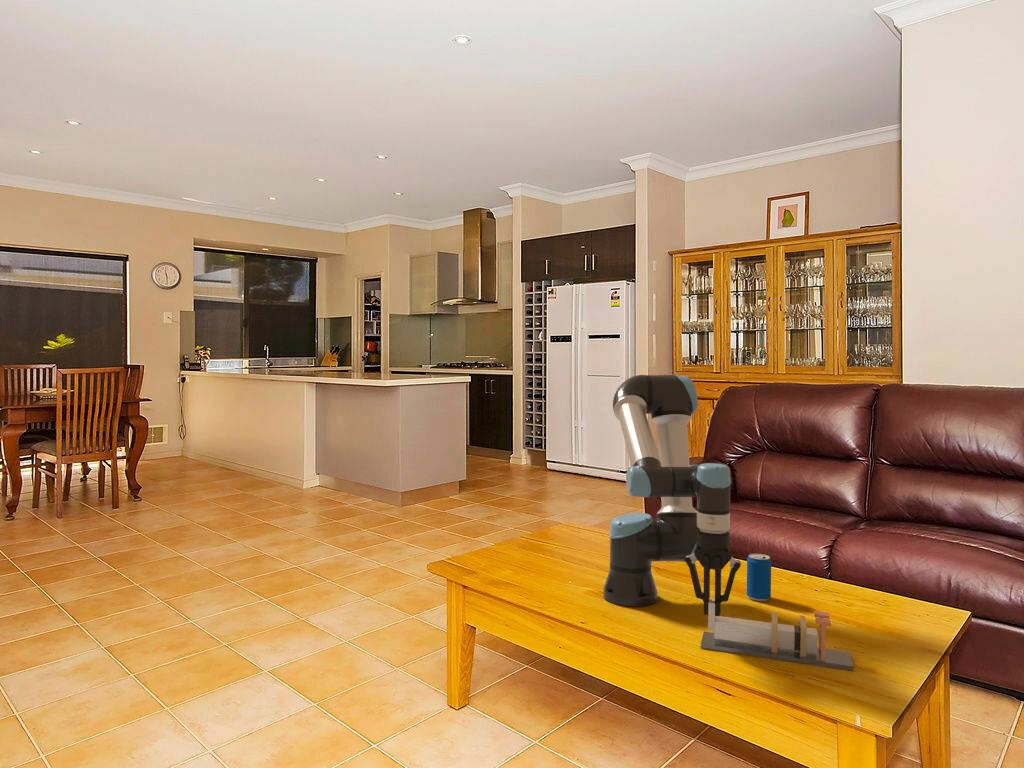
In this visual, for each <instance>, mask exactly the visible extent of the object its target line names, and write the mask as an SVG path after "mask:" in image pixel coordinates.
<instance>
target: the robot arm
mask: <svg viewBox="0 0 1024 768" xmlns="http://www.w3.org/2000/svg"><path fill="white" fill-rule="evenodd" d="M697 393H698V392H697V390H696V386H695V383H694V381H693V380H692V379H691V378H690V377H689V376H687V375H680V374H678V375H677V374H638V375H633V376H630V377H629V378H627V379H626V380H624V381H623V382H622V383H621V384H620V385H619V386H618V387H617V389H616V390H615V393H614V397H613V399H612V409H613V412H614V416H615V418H616V419H617V420H619V423H620V427H621V431H622V434H623V439H624V443H625V446H626V451H627V455H628V458H629V462H630V465H631V466H630V467H628V468H627V470H626V473H625V475H626V476H625V477H626V478H625V482H626V483H625V484H626V490H627V493H628V494H629V495H630V496H631V497H636V498H637V497H638V498H661V499H660V500H661V507H660V509H659V510H658V511H657V512H656V519H653V517H652V515H651V514H648V513H645V512H630V513H625V514H622V515H618V516H616V517H613V518H612V520H611V522H610V528H609V533H608V534H609V535H608V536H609V570H608V573H607V577H606V580H605V583H604V585H603V589H602V590H603V591H602V592H603V593H602V594H603V598H604V600H605V601H607V602H609V603H611V604H615V605H618V606H625V607H646V606H651V605H653V604H655V603H656V602H658V590H657V585H656V582H655V579H654V577H653V572H652V564H653V563H652V562H683V563H685V564H686V565H687V567H688V569H689V574H690V577H691V581H692V586H693V589H694V594H695V595H694V596H695V597H696V599H700V600H702V601H703V615H705V616H707V631H708V632H715V618H716V616H718V617H719V616H721V612H722V611H721V607H722V605H721V604H722V603H724V602H726V603H727V602H728V601H729V598H730V594H731V591H732V588H733V585H734V580H735V576H736V573H737V572H738V571H739V569H740V568H741V565H742V561H740V559H739V560H738V559H736V558H734V557H733V556H732V551H731V549H730V545H731V544H730V542H731V541H730V540H731V538H730V537H731V534H730V532H729V530H730V529H731V485H732V478H731V469H730V467H729V466H728V465H726V464H721V463H713V462H709V463H706V462H704V463H700V464H691V465H690V456H689V455H690V452H689V439H688V438H689V437H688V436H689V435H688V424H689V422H690V421H692V417H693V416H692V415H693V414H695V413H696V412H697V410H698V394H697ZM647 415H651V421H652V423H654V425H656V428H657V445H658V449H657V446H656V443H655V441H654V437H653V432H652V429H651V426H650V424H649V419H648V417H647ZM693 498H696V509H695V508H694V507H693ZM697 561H698V562H699V564H700V565H701V567H702V568H703V591H702V586H701V583H700V579H699V578H700V577H699V574H698V571H697V570H698V569H697V565H696V563H697ZM728 563H729V567H730V572H729V574H728V579H727V583H726V586H725V590H724V593H723V594H722V570H723V569H724V567H726V566H727V564H728ZM711 570H714V599H710V597H711V595H710V594H711V593H710V592H711Z"/></svg>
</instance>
